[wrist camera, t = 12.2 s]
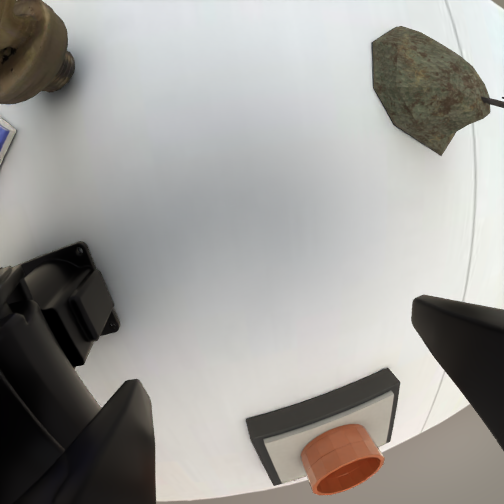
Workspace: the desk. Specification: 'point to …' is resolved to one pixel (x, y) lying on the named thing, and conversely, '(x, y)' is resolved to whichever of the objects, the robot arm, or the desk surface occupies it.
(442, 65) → the sword in stone
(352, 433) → the bowl
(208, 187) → the desk surface
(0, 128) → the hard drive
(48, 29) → the light bulb
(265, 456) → the scale
